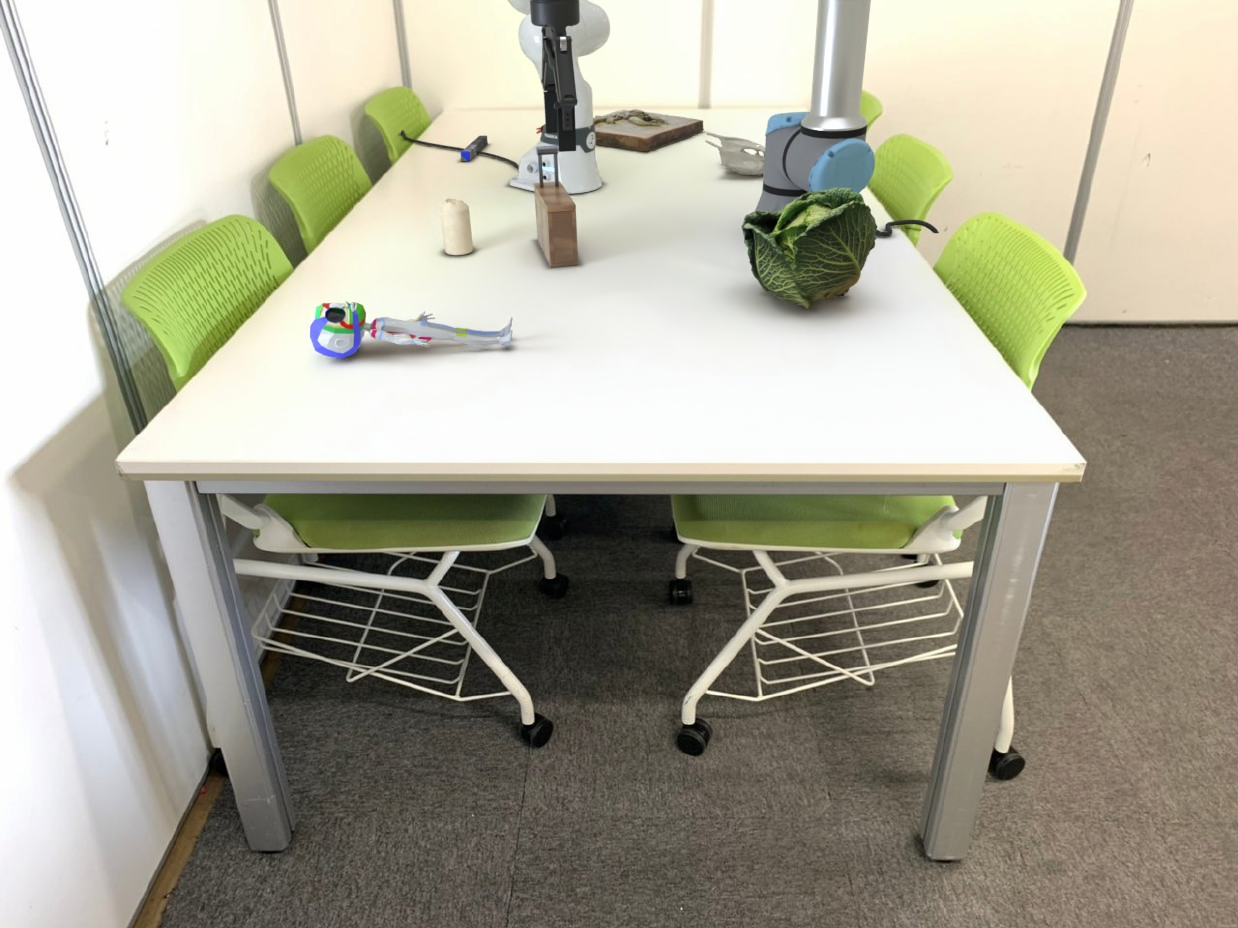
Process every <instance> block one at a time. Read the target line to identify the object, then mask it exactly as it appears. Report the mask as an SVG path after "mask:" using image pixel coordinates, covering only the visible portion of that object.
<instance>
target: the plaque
mask: <svg viewBox="0 0 1238 928" xmlns="http://www.w3.org/2000/svg"><path fill="white" fill-rule="evenodd" d="M593 123H594V124H595V133H596V144H595V145H597V146H598V145H599V146H607V147H612V148H620V149H625V150H632V151H640V152H648V151H654V150H656V149H659V148H662V147H663V146H664V147H665V146H667V145H670V144H672V143H676V142H680V141H682V140H684V139H687V138H691V137H692V136H694V135H696V134H698V133H700V132H704V130H705V129H704V120H702V119H698V118H693V117H685V116H679V115H669V114H663V113H659V112H650V111H644V110H642V109H637V108H636V109H635V108H634V109H630V110H629V109H620V110H616V111H613V112H610V113H608V114H602V115H594V117H593Z"/></svg>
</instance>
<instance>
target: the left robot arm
mask: <svg viewBox="0 0 1238 928" xmlns="http://www.w3.org/2000/svg"><path fill="white" fill-rule="evenodd" d="M507 2H508V3H509V4H510V5H511V7H512V8H513V9H514V10H516V11H517V12H519V13H520V14H522V15H525V17H523V18H522V19H521V21H520V23H519V27H518V30H517V31H518V32H517V37H518V38H517V39H518V43H519V46H520V50H521V51H522V52H523V54H524V55H525V57H526V58H528V59H529V60H530V62H531V63H532V65H534V67H535V70H536V72H537V75H538V77H539V81H540V84H541V90H542V94H543V96H544V92H547V91H544V89H543V85H542V83H541V80H542V32H541V29H542V27H539V26H535V25H533V24H532V23H531V11H530V0H507ZM579 8H580V22H579V23H578V24H577V25H574V26H567V27H566V34H567V36H571V38H572V42H571V43H572V58H573V67H574V77H575V86H576V96H577V100H578V103H577V105H575V129H576V151H567V152H559V150H558V154H557V156H558V176H559V181H560V182H561V184H562V185H563V187H564V188H565V190H566V191H567V193H568V194H569V195H570V194H582V193H588V192H592V191H595V190H598V189H600V188H601V187H602V186H603V183H602V180H601V178H600V177H601V176H600V173H599V168H598V163H597V161H598V157H597V156H596V145H597V144H596V133H595V124H594V123H593V118H594V102H593V101H594V100H593V99H594V98H593V89H592V87H591V85H590V83H589V82H588V81H587V80H585V79H584V77H583V74H582V72H581V68H580V64H579V58H581V57H586V56H589V55H591V54H593V53H595V52H597V51H598V50H600V49H601V48H602V47H603V46H605V45H606V43H607V42H608V40H609V38H610V33H611V23H610V19H609V16H608V15H607V13H606V11H605V10H604V9H603V7H601V6H600V5H599V4H597V3H593V2H592V1H589V0H579ZM543 106H544V108H545V105H544V104H543ZM535 130H536V132H535V133H536V134H540V138H539V141H538V142H536V143H535V144H534V145H533V146H532V147H530V149H529V150H527V151H526V152H525V153H524V154H523V155H522V156H521V157H520V158H519V159H520V160H519V164H518V163H517V162H515V161H513V160H511V159H509V158H506V157H504V156H502V155H497V154H494V153H490V152H486V151H482V150H481V151H477V154H476V155H481V156H486V157H489V158H490V157H491V158H494V159H499V160H501V161H504V162H507V163H509V164H512V165H513V166H514V167H515V168H516V169H517V170H518V174H516V175H514V176H513V177H512V178H511V179H510V180H509V186H511V187H514V188H517V189H518V188H519V189H523V190H527V191H531V192H534V190H535V189H534V183H539V168H538V155H537V152H536V147H540V146H554V145H557V146H558V133H547V134H546V125H545V123H544V124H543V125H541V126H540V127H537V128H535ZM400 135H401V136H402V137H403V138H404V139H405V140H406V141H409V142H412V143H417V144H421V145H424V146H430V147H435V148H439V149H446V150H454V151H460V152H462V151H463V150H464V149H465V148H463V147H458V146H451V145H444V144H439V143H433V142H427V141H423V140H418V139H414V138H411V137H408V136H407V134H406V133H405V130H403V129H402V130H401V131H400ZM542 167H543V183H544V182H555V176H554V157H553V154H551V155H542Z"/></svg>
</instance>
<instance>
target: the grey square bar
mask: <svg viewBox="0 0 1238 928" xmlns="http://www.w3.org/2000/svg"><path fill="white" fill-rule="evenodd" d="M488 143H489V142H488V135H478V136H477V137H476V138H474V139H473V140H472V142H471V143H469V144H468V145H467V146H466V147H465V148H464V150H463V151H460V162H470V161H471V160H472V159H473V158H475V157H476V156H477V155H478V154H477V151H481V152H482V150H483V149H484V148H485V147H487V145H488Z"/></svg>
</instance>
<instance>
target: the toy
mask: <svg viewBox="0 0 1238 928" xmlns="http://www.w3.org/2000/svg"><path fill="white" fill-rule="evenodd" d="M344 302H345V303H343V302H323V303H321V304H319V305H318V306H317V307H316V308H315V310H314V313H313V315H312V317H311V320H310V322H309V323H308V335H307V336H308V339H309V340H310V343H311V344H312V347H313V349H314V351H315V352H317V353H318V354H320V355H323V356H325V357H328V358H329V357H330V358H335V359H343V360H344V359H345V358H347V357H350V356H352V355H354V354H355V353H356V352H357V350H359V348H360V347H361V345H362V340H363V338H364V337H365V332H368V334H369V336H370V338H372V339H374V340H383V341H385V342H389V343H393V344H396V345H402V346H403V345H404V346H405V345H406V346H407V345H416V346H422V347H425V348H429V346H431V344H430V343H428V342H430V341H432V340H436V341H446V342H447V341H448V342H456V343H457V342H458V343H462V344H465V345H467V346H471V347H472V346H473V347H477V346H478V347H480V346H481V347H482V346H490V345H491V346H492V345H501V346H503V347H506V348H508V347H510V344H511V342H513V341H512V340H513V330H512V325H513V317H512V316H510V318H509V321H508V323H507V325H506V326H505V327H503V328H502V329H500V330H489V331H488V330H478V329H471V328H464V327H454V326H450V325H447V324H443V323H436V322H431V321H429V320H436V317H430V316H433V313H430V314H427V315H425V314H426V311H423V312H422V313H420V314H419V315H418V317H417V318H412V319H407V320H404V319H397V318H393V317H389V316H380V317H375V318H374V319H373V320H372V322H371V323H370V322H366V321H367V319H366V318H367V312H366V310H365V309H366V308H365V307H364V305H363V304H361V303H359V302H356V301H352V302H351V303H350V302H348V301H346V300H345V301H344ZM399 335H406V336H408V337H405V336H404V337H403V336H399ZM409 337H410V338H409Z"/></svg>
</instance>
